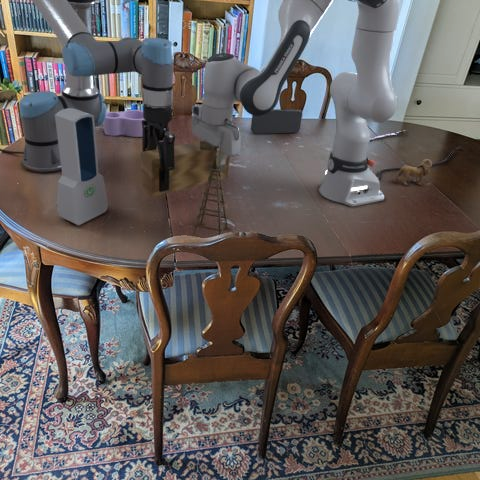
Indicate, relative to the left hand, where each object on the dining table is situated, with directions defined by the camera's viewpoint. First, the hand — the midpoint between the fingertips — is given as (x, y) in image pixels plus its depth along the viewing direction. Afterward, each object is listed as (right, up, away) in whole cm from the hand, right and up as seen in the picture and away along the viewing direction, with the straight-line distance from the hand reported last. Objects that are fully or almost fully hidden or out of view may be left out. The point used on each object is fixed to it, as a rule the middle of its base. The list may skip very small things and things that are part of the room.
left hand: (158, 185), depth 132 cm
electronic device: (-22, -8, +2) cm, 23 cm away
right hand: (+15, +9, +8) cm, 20 cm away
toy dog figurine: (+87, +6, +43) cm, 97 cm away
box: (+7, +1, +6) cm, 10 cm away
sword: (+91, +32, +83) cm, 127 cm away
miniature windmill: (+15, -14, 0) cm, 20 cm away
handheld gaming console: (+39, +32, +75) cm, 90 cm away
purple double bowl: (-22, +29, +60) cm, 70 cm away
